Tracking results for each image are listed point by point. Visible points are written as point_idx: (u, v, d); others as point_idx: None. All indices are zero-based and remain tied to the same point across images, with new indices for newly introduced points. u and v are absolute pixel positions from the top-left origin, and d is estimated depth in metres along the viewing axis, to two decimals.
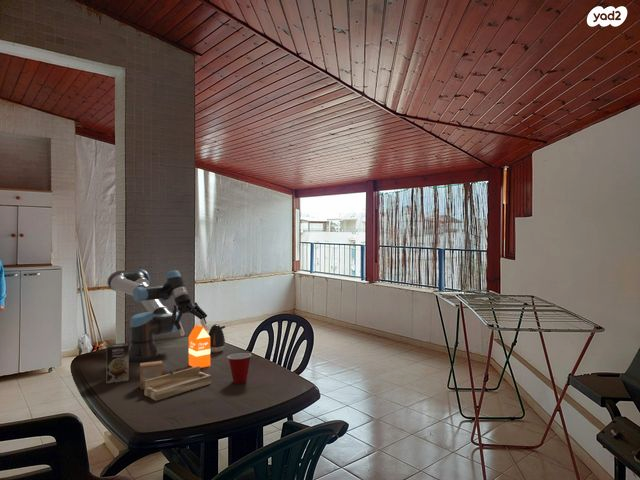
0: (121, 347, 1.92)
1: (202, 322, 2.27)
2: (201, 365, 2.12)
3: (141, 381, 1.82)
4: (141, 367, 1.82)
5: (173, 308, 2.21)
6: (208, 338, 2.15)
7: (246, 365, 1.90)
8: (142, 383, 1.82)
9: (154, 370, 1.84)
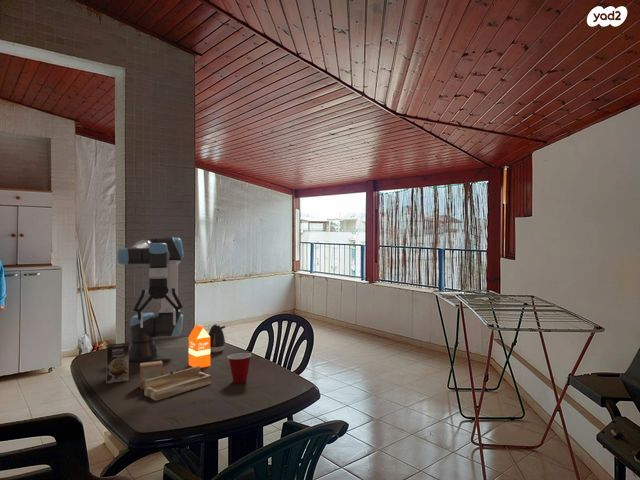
0: (121, 347, 1.92)
1: (173, 314, 1.92)
2: (201, 365, 2.12)
3: (141, 381, 1.82)
4: (141, 367, 1.82)
5: (141, 292, 1.86)
6: (208, 338, 2.15)
7: (246, 365, 1.90)
8: (142, 383, 1.82)
9: (154, 370, 1.84)
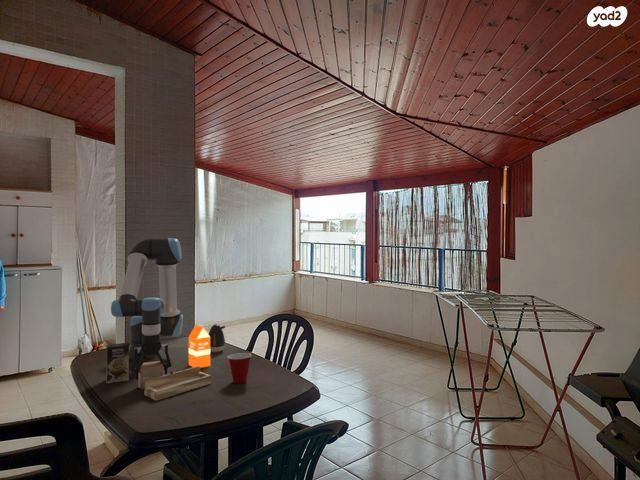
0: (121, 347, 1.92)
1: None
2: (201, 365, 2.12)
3: (140, 381, 1.82)
4: (141, 367, 1.82)
5: (134, 351, 1.83)
6: (208, 338, 2.15)
7: (246, 365, 1.90)
8: (142, 383, 1.82)
9: (154, 369, 1.84)
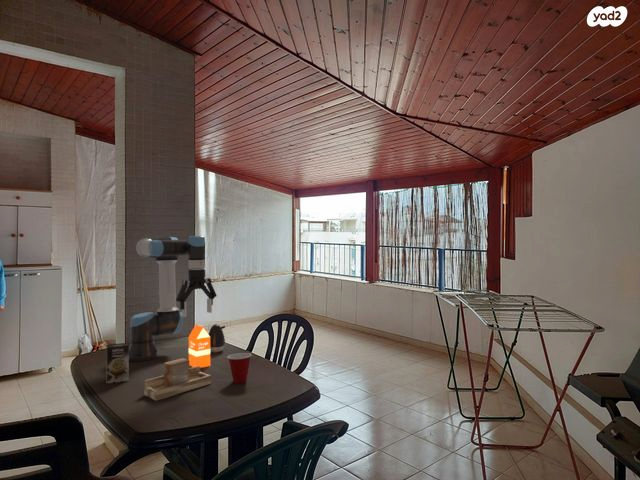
0: (121, 347, 1.92)
1: (208, 302, 2.05)
2: (201, 365, 2.12)
3: (170, 380, 1.77)
4: (170, 365, 1.77)
5: (184, 283, 1.94)
6: (208, 338, 2.15)
7: (246, 365, 1.90)
8: (172, 382, 1.78)
9: (182, 367, 1.81)
